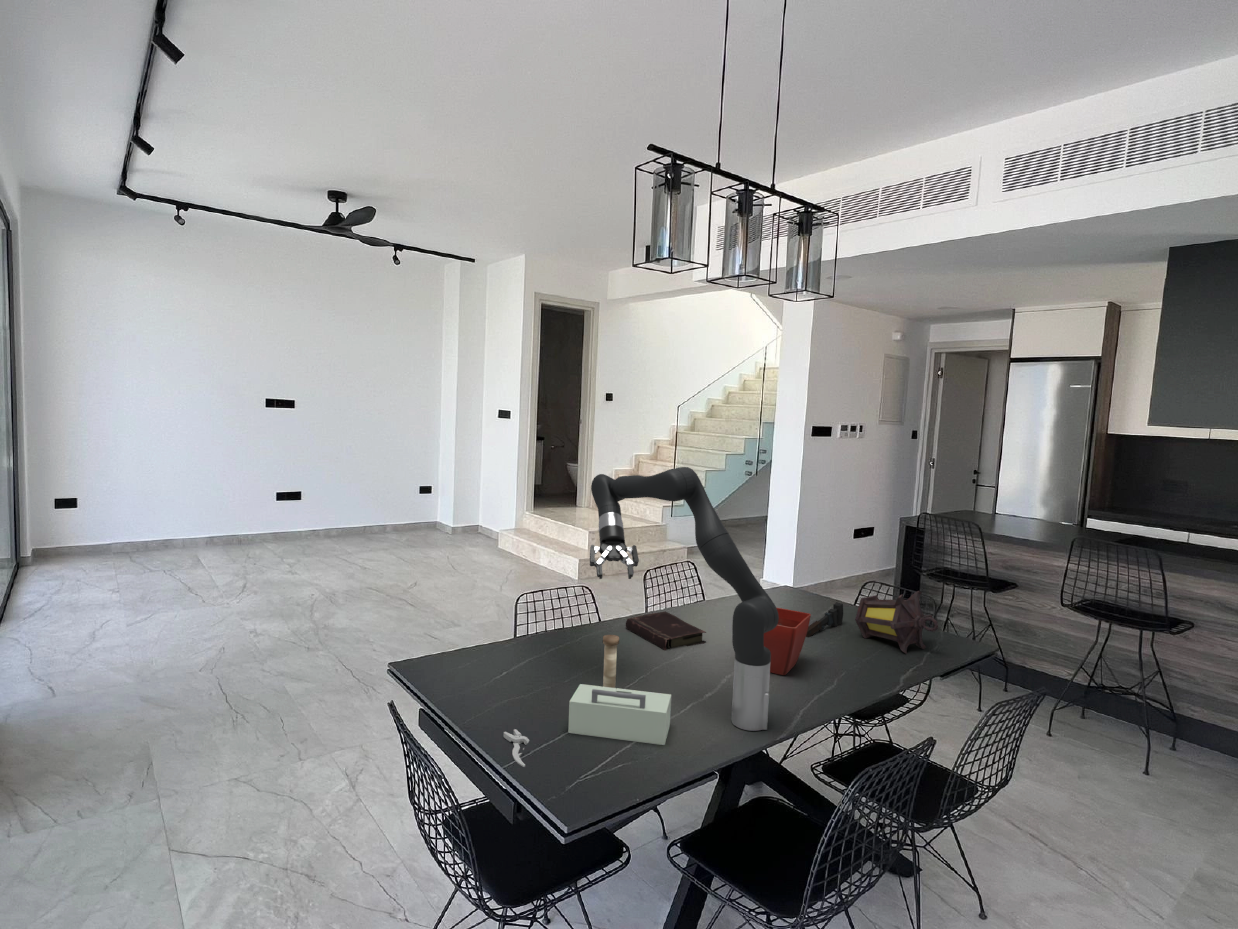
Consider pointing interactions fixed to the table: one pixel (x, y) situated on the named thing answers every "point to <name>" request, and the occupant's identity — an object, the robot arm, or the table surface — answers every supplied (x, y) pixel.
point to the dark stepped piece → (827, 619)
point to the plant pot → (786, 640)
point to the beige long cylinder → (610, 660)
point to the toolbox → (620, 714)
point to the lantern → (894, 620)
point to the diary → (665, 630)
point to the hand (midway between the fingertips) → (615, 577)
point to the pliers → (516, 744)
